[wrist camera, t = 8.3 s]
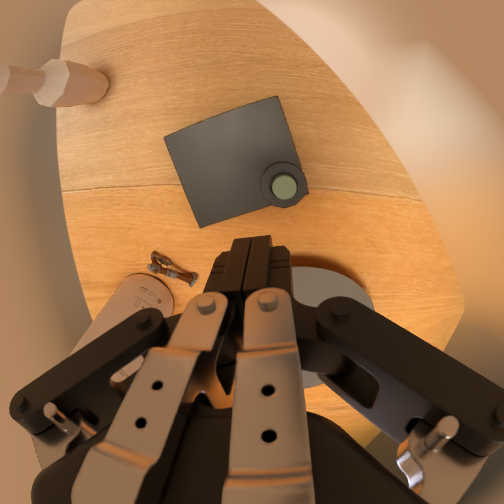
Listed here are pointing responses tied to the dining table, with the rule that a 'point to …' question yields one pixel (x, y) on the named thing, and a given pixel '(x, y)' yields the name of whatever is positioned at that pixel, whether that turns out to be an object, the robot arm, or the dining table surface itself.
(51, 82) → the low poly bottle
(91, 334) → the speaker
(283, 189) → the button
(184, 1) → the dining table surface
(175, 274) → the jointed metal bracket
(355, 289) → the flat disc
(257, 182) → the scale
